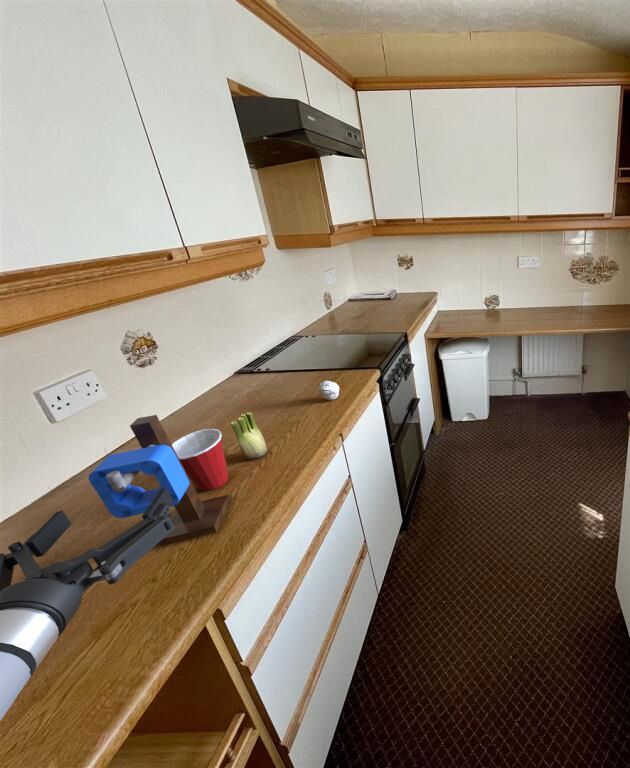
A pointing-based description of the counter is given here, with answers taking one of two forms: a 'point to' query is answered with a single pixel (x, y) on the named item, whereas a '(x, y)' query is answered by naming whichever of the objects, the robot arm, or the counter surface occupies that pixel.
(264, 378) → the counter surface
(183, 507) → the hook stand
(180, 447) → the plastic cup
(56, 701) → the counter surface
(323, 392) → the white lumpy ball
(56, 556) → the counter surface
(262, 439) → the fennel bulb
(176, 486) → the blue rounded square frame
